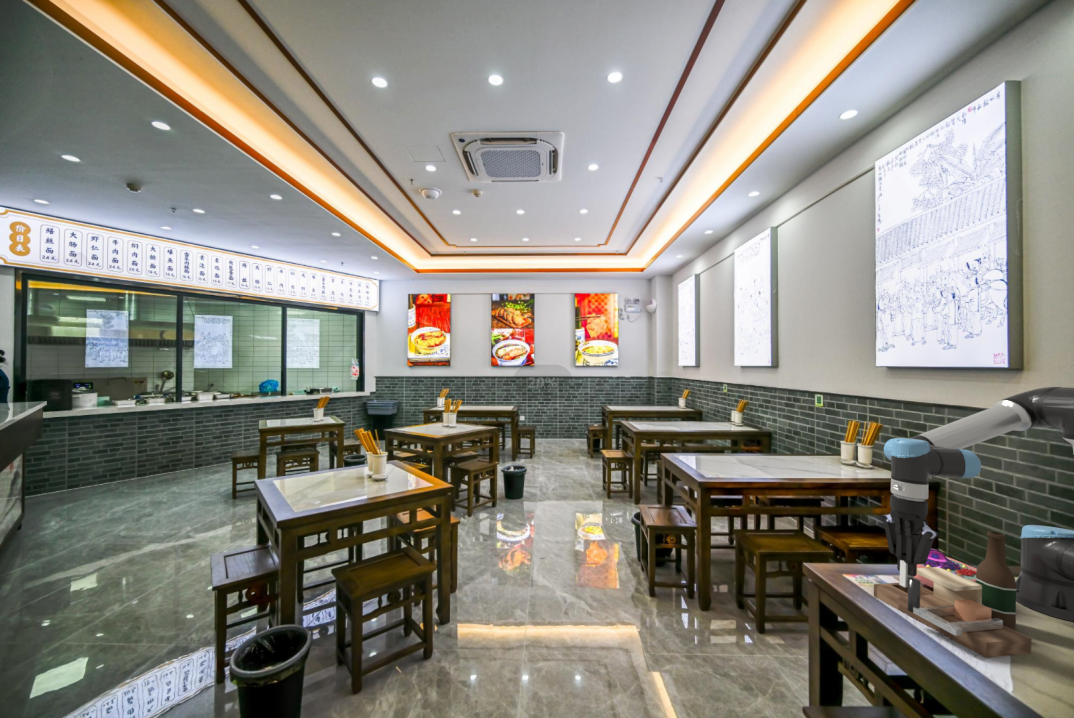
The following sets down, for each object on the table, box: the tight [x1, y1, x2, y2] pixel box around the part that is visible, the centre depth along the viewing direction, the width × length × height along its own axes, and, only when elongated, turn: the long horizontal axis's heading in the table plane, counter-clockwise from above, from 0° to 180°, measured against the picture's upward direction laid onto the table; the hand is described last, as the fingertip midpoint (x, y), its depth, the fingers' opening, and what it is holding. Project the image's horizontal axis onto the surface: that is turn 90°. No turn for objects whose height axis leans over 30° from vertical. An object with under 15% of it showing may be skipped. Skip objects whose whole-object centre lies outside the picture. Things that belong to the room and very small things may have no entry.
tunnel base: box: [873, 582, 1032, 659], centre depth 111 cm, size 14×26×4 cm, turn 11°
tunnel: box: [917, 567, 982, 605], centre depth 112 cm, size 9×10×8 cm
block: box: [954, 599, 992, 621], centre depth 106 cm, size 5×4×4 cm
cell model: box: [914, 548, 977, 589], centre depth 128 cm, size 17×20×11 cm
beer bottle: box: [976, 530, 1017, 631], centre depth 112 cm, size 8×8×24 cm
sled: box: [907, 577, 1003, 636], centre depth 106 cm, size 16×11×8 cm
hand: (906, 585), depth 111 cm, fingers closed
